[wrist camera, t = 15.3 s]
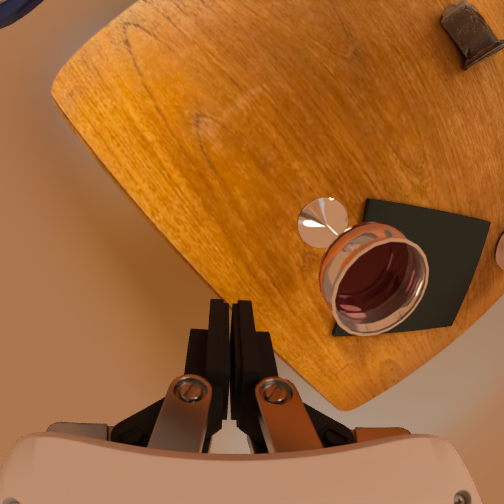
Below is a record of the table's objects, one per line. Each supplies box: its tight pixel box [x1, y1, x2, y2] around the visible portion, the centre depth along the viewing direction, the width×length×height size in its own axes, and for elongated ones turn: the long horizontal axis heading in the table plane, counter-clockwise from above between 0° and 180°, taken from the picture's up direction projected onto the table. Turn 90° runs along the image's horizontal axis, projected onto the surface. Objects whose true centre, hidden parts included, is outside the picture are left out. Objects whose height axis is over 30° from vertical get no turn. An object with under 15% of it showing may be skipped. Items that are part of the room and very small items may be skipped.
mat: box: [332, 198, 491, 337], centre depth 30 cm, size 20×16×1 cm
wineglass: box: [298, 197, 429, 336], centre depth 21 cm, size 7×7×12 cm
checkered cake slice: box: [440, 0, 504, 71], centre depth 16 cm, size 10×7×12 cm
